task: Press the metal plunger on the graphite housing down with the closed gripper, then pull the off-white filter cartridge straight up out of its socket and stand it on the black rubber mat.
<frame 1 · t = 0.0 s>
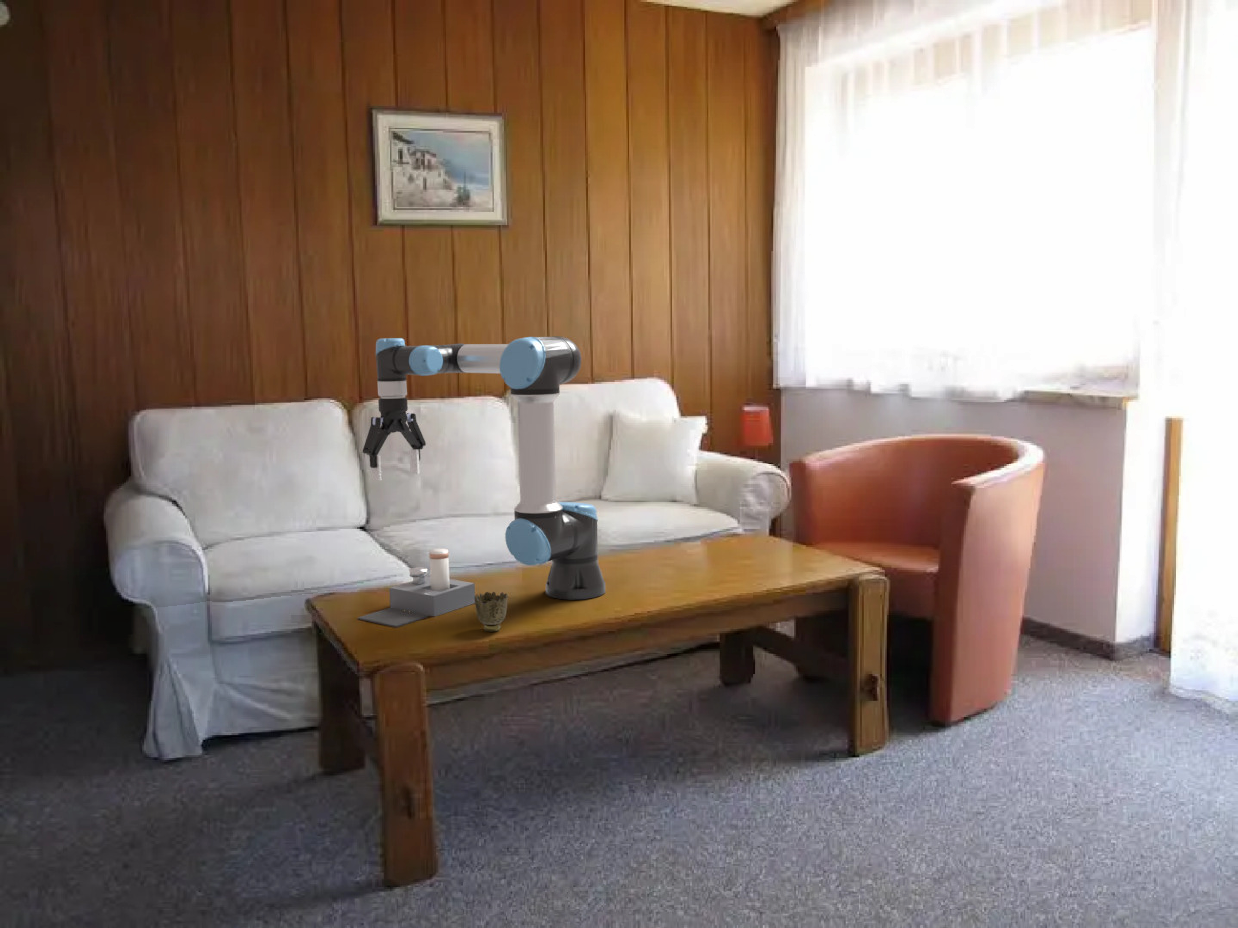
hand: (396, 476, 281), 28 cm above the table, tool pointing down, fingers open, 13 cm apart
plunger: (419, 581, 260), point 6 cm above the table, slide at 0.0 cm
mat: (393, 618, 248), on the table
cartridge: (441, 607, 256), resting in housing
cup: (492, 631, 236), on the table
housing: (433, 605, 258), on the table
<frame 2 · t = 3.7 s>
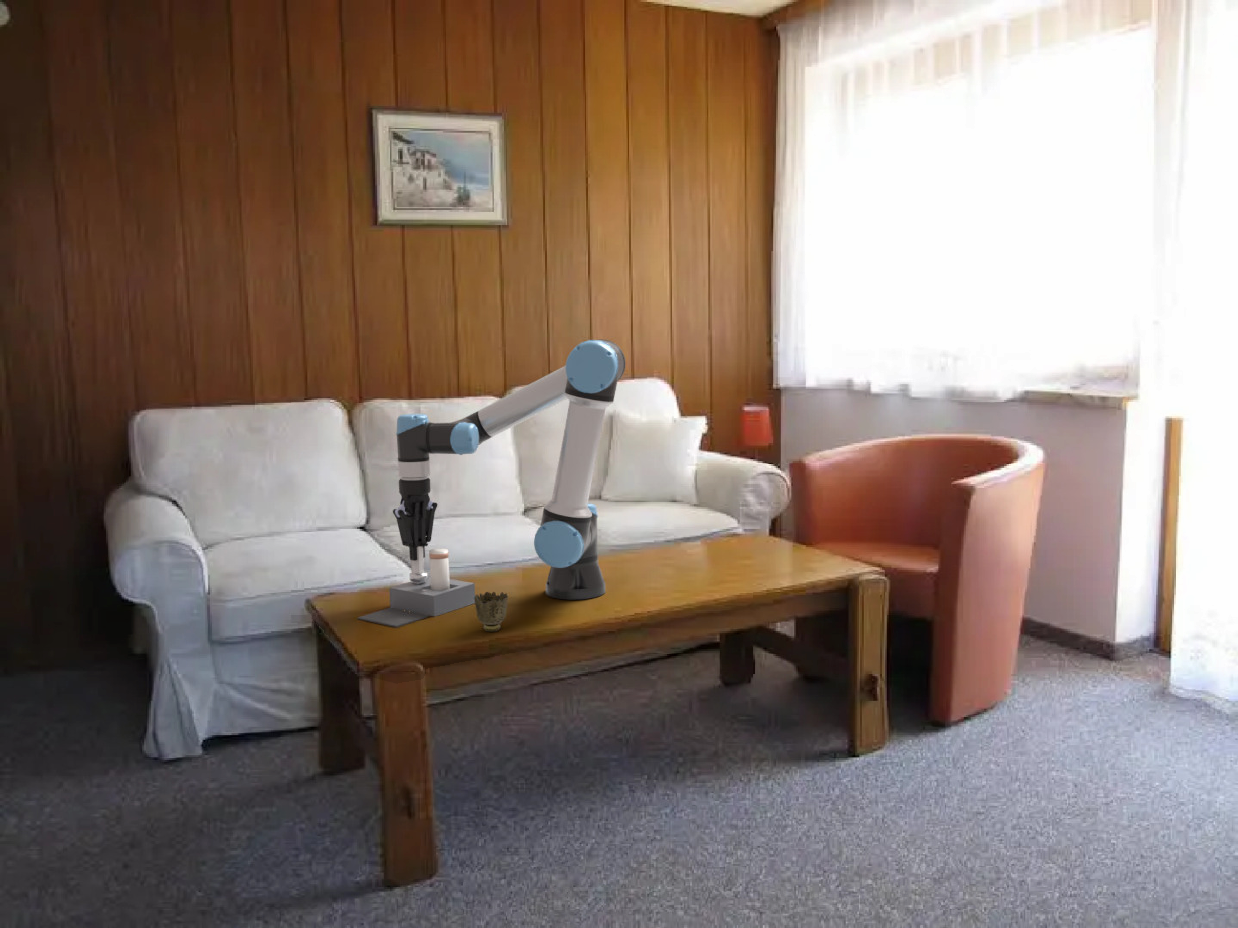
hand: (417, 572, 260), 8 cm above the table, tool pointing down, fingers closed
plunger: (419, 585, 260), point 4 cm above the table, slide at 1.1 cm, touching gripper
everything else where it was.
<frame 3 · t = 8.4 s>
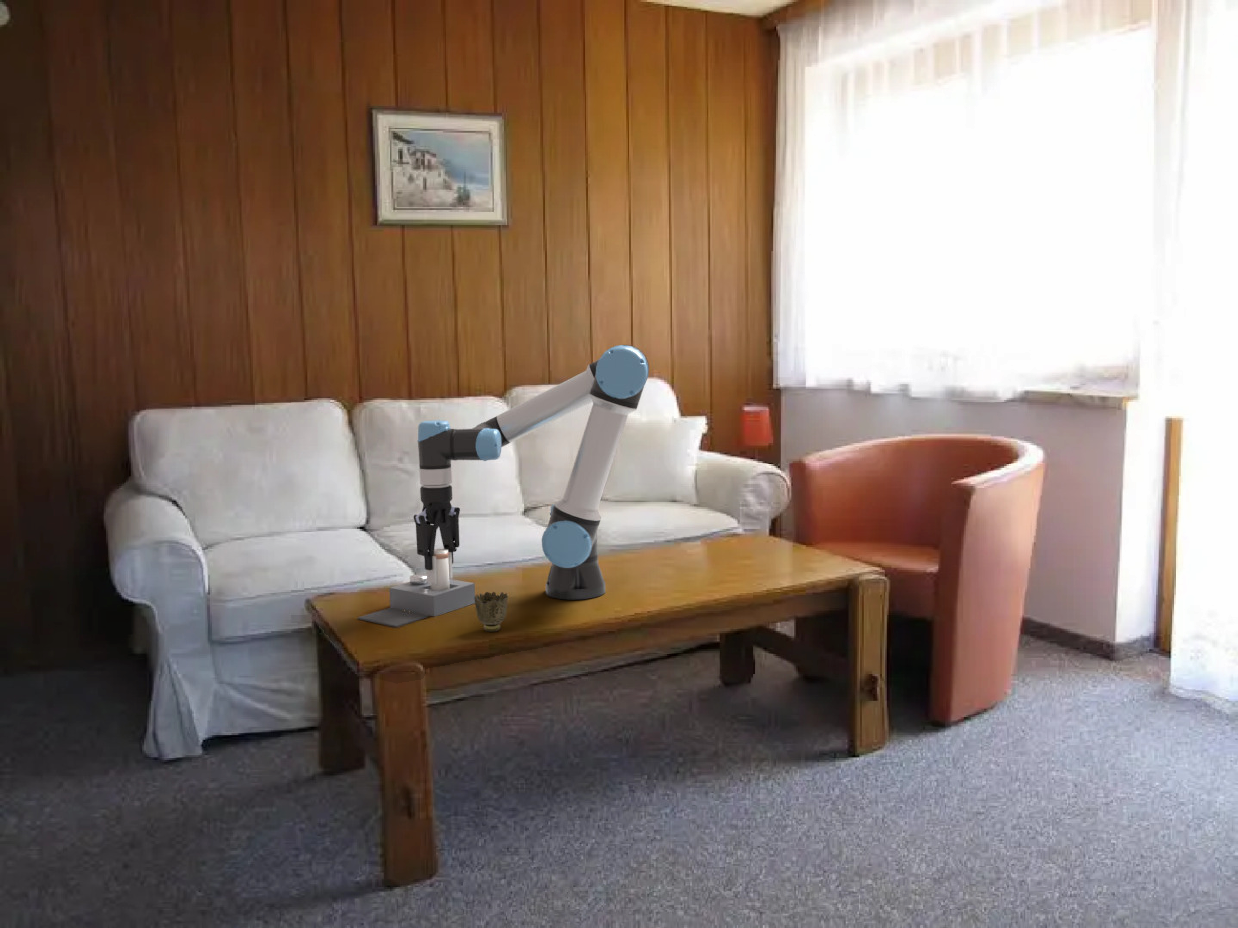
hand: (439, 580, 256), 7 cm above the table, tool pointing down, fingers closed on cartridge, 4 cm apart
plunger: (419, 588, 260), point 4 cm above the table, slide at 1.8 cm
cartridge: (441, 607, 256), resting in housing, touching gripper
everything else where it was.
when the fingers open (9 cm above the table, at t = 14.7 s): cartridge drops 2 cm, resting on mat.
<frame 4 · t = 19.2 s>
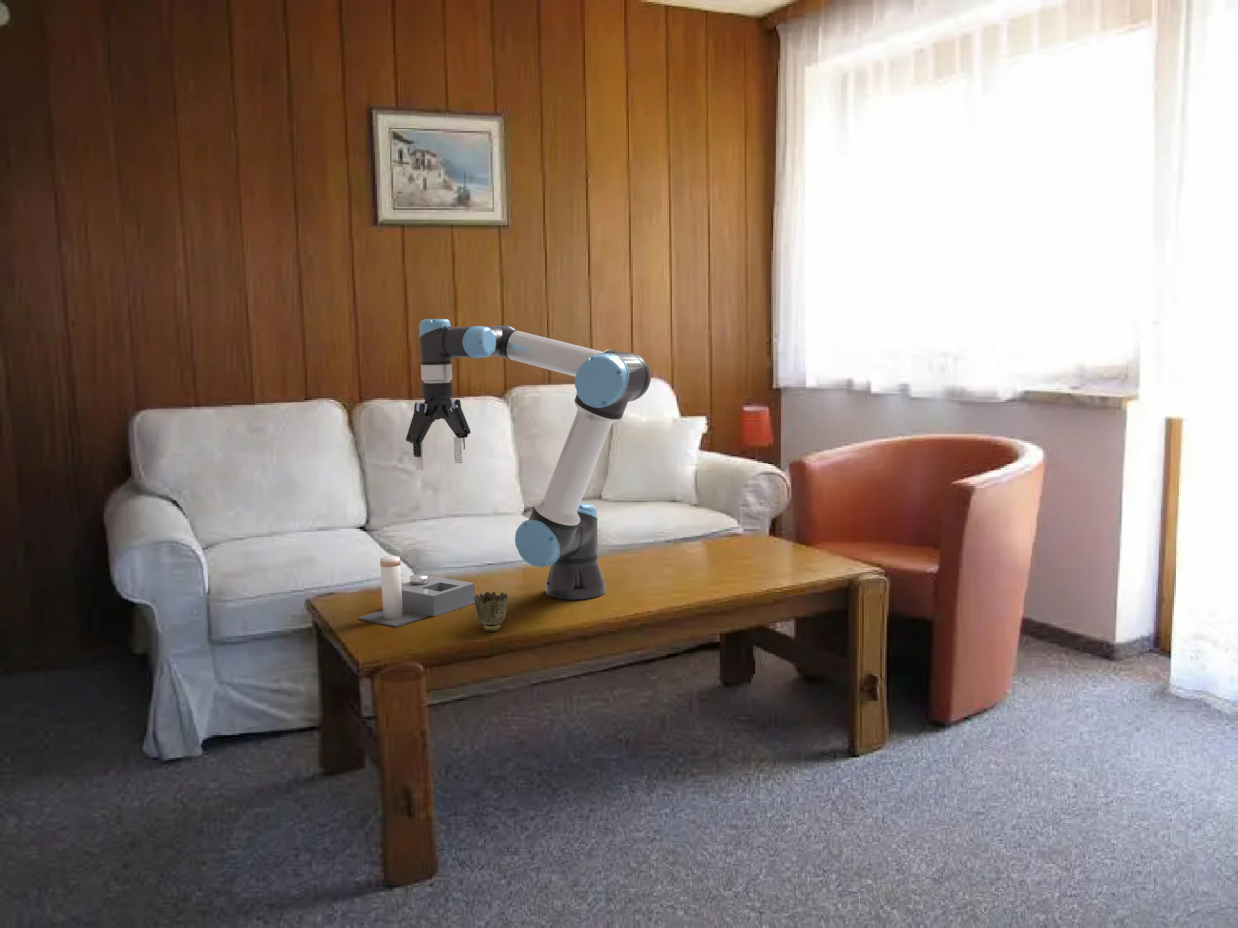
hand: (440, 466, 265), 33 cm above the table, tool pointing down, fingers open, 13 cm apart
cartridge: (393, 616, 248), resting on mat
everything else where it was.
at the end: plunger slide at 1.8 cm; cartridge inside the target area (0.0 cm from its centre), resting on mat; cartridge tilted 0° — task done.
